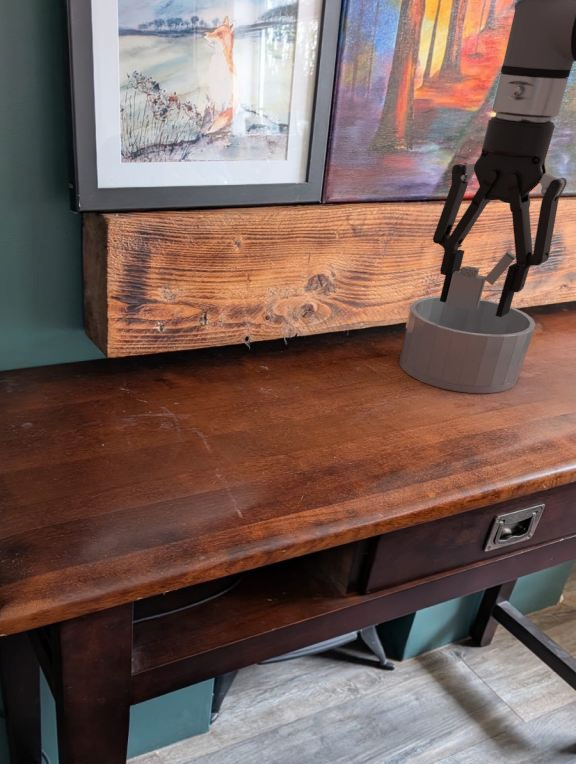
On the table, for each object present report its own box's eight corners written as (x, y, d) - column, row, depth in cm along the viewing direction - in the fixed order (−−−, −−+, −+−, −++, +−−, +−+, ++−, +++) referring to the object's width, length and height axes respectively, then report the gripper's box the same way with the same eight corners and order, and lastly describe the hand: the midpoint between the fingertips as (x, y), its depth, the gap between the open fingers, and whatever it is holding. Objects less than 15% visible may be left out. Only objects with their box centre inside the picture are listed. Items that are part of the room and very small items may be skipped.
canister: (535, 370, 107) (552, 316, 103) (490, 404, 97) (507, 346, 92) (430, 339, 116) (442, 288, 111) (378, 368, 105) (389, 312, 101)
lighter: (445, 305, 102) (459, 245, 97) (448, 302, 103) (462, 242, 99) (498, 315, 99) (515, 254, 95) (500, 312, 100) (517, 251, 96)
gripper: (430, 109, 91) (393, 294, 104) (601, 129, 81) (537, 333, 93) (456, 107, 96) (418, 284, 109) (621, 125, 85) (557, 319, 98)
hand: (473, 306), depth 101 cm, fingers closed on lighter, 7 cm apart
